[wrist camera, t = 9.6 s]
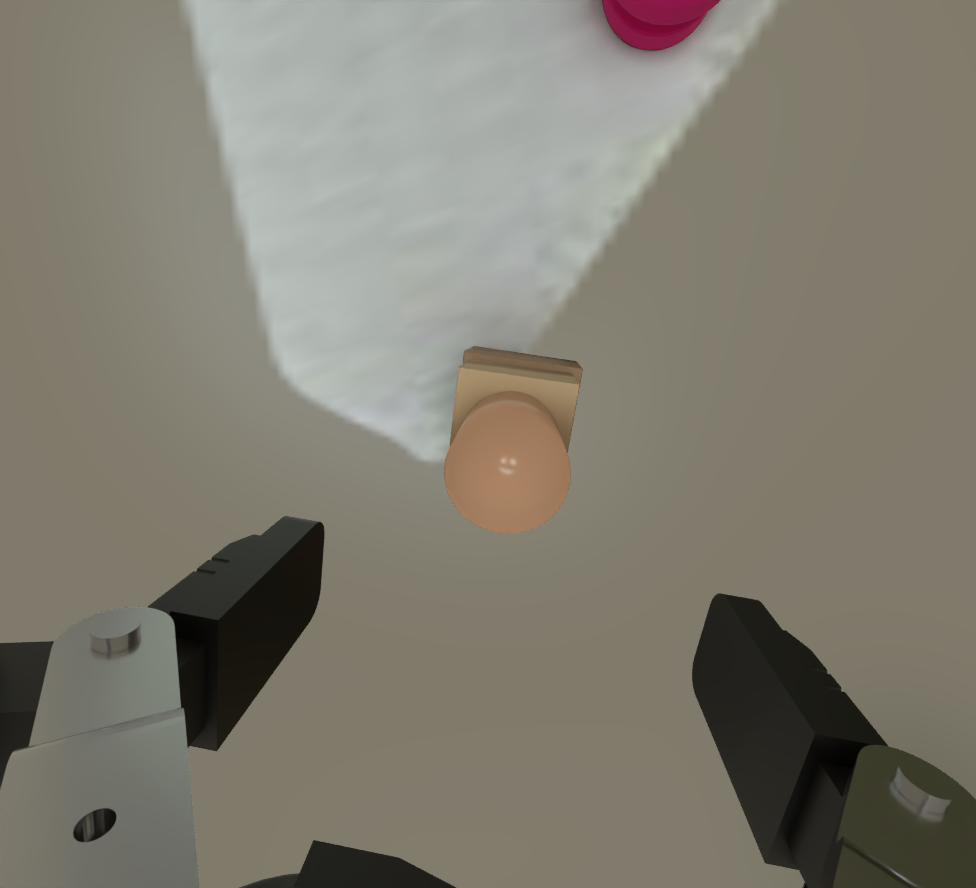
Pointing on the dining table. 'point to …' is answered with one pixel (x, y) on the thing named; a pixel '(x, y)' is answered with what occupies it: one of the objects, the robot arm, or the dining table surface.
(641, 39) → the pepper mill
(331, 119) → the dining table surface
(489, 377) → the tower top
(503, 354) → the tower base
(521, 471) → the rounded stamp handle
